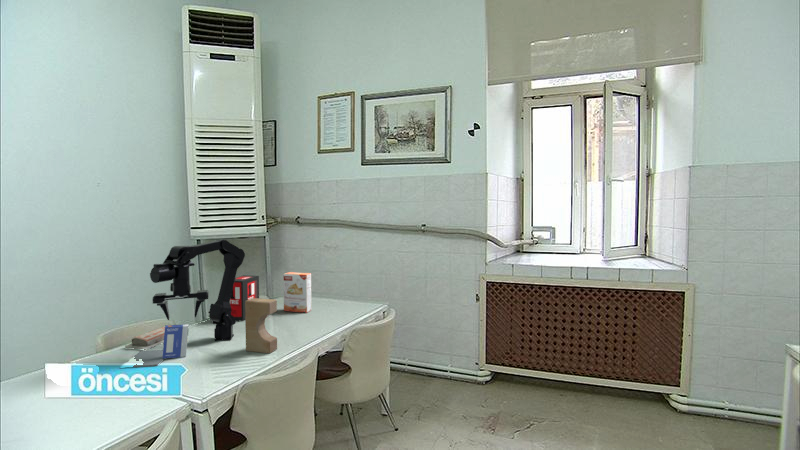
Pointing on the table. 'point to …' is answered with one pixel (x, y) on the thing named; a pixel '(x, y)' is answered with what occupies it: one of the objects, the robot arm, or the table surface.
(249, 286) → the cleaning product box
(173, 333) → the walkman
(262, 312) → the decorative block
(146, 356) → the mat
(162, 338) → the packaged product
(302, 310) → the cracker box
